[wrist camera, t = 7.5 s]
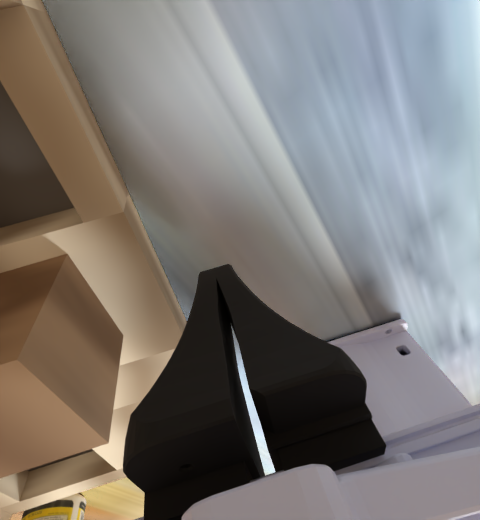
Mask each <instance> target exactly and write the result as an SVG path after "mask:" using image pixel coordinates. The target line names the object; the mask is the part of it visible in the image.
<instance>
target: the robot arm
mask: <svg viewBox="0 0 480 520" xmlns="http://www.w3.org/2000/svg"><path fill="white" fill-rule="evenodd" d="M231 325H232V327H233V330H234V332H235V335H236V338H237V340H238V343H239V347H240V351H241V355H242V360H243V364H244V368H245V372H246V377H247V381H248V385H249V389H250V392H251V395H252V398H253V401H254V404H255V407H256V411H257V414H258V417H259V420H260V423H261V426H262V429H263V433H264V437H265V440H266V444H267V448H268V451H269V453H270V456H271V459H272V462H273V465H274V468H275V471H276V472H275V473H272V474H269V475H266V476H265V474H264V470H263V466H262V463H261V459H260V455H259V451H258V447H257V443H256V440H255V436H254V432H253V428H252V424H251V420H250V416H249V413H248V409H247V405H246V401H245V397H244V393H243V389H242V385H241V381H240V377H239V372H238V367H237V360H236V354H235V347H234V340H233V334H232V328H231ZM407 326H408V324H407V323H406V321H405V320H403V319H399V320H396V321H393V322H390V323H386V324H383V325H380V326H377V327H374V328H370V329H367V330H364V331H361V332H358V333H355V334H351V335H348V336H345V337H342V338H339V339H335V340H332V341H329V342H325V341H323V340H321V339H319V338H317V337H315V336H313V335H311V334H309V333H307V332H305V331H304V330H302V329H300V328H299V327H297V326H295V325H293V324H292V323H290V322H288V321H287V320H286V319H284V318H283V317H281V316H280V315H278V314H277V313H276V312H274V311H273V310H272V309H270V308H269V307H268V306H267V305H266V304H264V303H263V302H262V301H261V300H260V299H259V298H258V297H257V296H256V295H255V294H254V293H253V292H252V291H251V290H250V289H249V288H248V287H247V286H246V285H245V284H244V283H243V282H242V280H241V279H240V278H239V277H238V275H237V274H236V273H235V271H234V270H233V268H232V266H231V265H229V264H227V265H223V266H220V267H216V268H213V269H210V270H206V271H203V272H200V274H199V278H198V285H197V290H196V295H195V298H194V302H193V306H192V309H191V312H190V315H189V318H188V321H187V323H186V326H185V329H184V331H183V333H182V336H181V338H180V340H179V342H178V344H177V346H176V348H175V350H174V352H173V354H172V356H171V358H170V359H169V361H168V363H167V365H166V366H165V368H164V369H163V371H162V373H161V374H160V376H159V377H158V379H157V380H156V382H155V383H154V385H153V386H152V388H151V389H150V391H149V392H148V393H147V394H146V396H145V397H144V398H143V400H142V401H141V402H140V404H139V405H138V406H137V407H136V409H135V410H134V411H133V412H132V414H131V415H130V419H129V424H128V428H127V433H126V438H125V446H124V457H123V472H124V474H125V475H126V477H127V478H128V479H130V480H131V481H132V482H133V483H134V484H135V485H137V486H138V487H139V488H140V489H141V490H142V491H144V492H145V500H144V517H141V518H138V519H135V520H480V404H478V405H475V406H472V405H471V404H470V403H469V401H468V400H467V399H466V398H465V397H464V395H463V394H462V393H461V392H460V391H459V390H458V389H457V388H456V386H455V385H454V384H453V383H452V382H451V381H450V380H449V378H448V377H447V376H446V375H445V374H444V373H443V372H442V371H441V369H440V368H439V367H438V366H437V365H436V364H435V363H434V361H433V360H432V359H431V358H430V357H429V356H428V355H427V353H426V352H425V351H424V350H423V349H422V348H421V347H420V346H419V344H418V343H417V342H416V341H415V340H414V339H413V338H412V336H411V335H410V334H409V333H408V332H407Z"/></svg>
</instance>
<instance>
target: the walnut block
mask: <svg viewBox="0 0 480 520" xmlns="http://www.w3.org/2000/svg"><path fill="white" fill-rule="evenodd" d="M122 343H123V334H122V332H121V331H120V330H119V328H118V327H117V325H116V324H115V322H114V321H113V319H112V318H111V316H110V315H109V314H108V312H107V311H106V309H105V308H104V306H103V305H102V303H101V302H100V300H99V299H98V297H97V296H96V295H95V293H94V292H93V290H92V289H91V287H90V286H89V284H88V283H87V281H86V280H85V278H84V277H83V276H82V274H81V273H80V271H79V270H78V268H77V267H76V265H75V264H74V262H73V261H72V259H71V258H70V257H69V255H68V254H64V255H61V256H57V257H54V258H50V259H47V260H44V261H40V262H37V263H33V264H30V265H26V266H23V267H20V268H16V269H13V270H9V271H6V272H2V273H0V478H3V477H6V476H9V475H12V474H16V473H19V472H22V471H25V470H28V469H31V468H34V467H37V466H40V465H43V464H46V463H49V462H52V461H55V460H58V459H62V458H65V457H68V456H71V455H74V454H77V453H80V452H83V451H86V450H89V449H92V448H95V447H98V446H101V445H105V444H108V443H109V437H110V430H111V423H112V415H113V408H114V401H115V394H116V386H117V379H118V372H119V364H120V357H121V350H122Z"/></svg>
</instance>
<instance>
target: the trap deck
mask: <svg viewBox="0 0 480 520" xmlns="http://www.w3.org/2000/svg"><path fill="white" fill-rule="evenodd" d="M64 254H68V255H69V257H70V258H71V259H72V261H73V262H74V264H75V265H76V267H77V268H78V270H79V271H80V273H81V274H82V276H83V277H84V278H85V280H86V281H87V283H88V284H89V286H90V287H91V289H92V290H93V292H94V293H95V295H96V296H97V297H98V299H99V300H100V302H101V303H102V305H103V306H104V308H105V309H106V311H107V312H108V314H109V315H110V316H111V318H112V319H113V321H114V322H115V324H116V325H117V327H118V328H119V330H120V331H121V332H122V334H123V343H122V350H121V357H120V364H119V372H118V379H117V386H116V394H115V401H114V408H113V415H112V423H111V430H110V437H109V443H108V444H105V445H101V446H98V447H95V448H92V449H89V450H86V451H83V452H80V453H77V454H74V455H71V456H68V457H65V458H62V459H58V460H55V461H52V462H49V463H46V464H43V465H40V466H37V467H34V468H31V469H28V470H25V471H22V472H19V473H16V474H12V475H9V476H6V477H3V478H0V520H10V519H11V516H12V515H13V514H16V513H19V512H22V511H25V510H28V509H31V508H34V507H37V506H40V505H43V504H46V503H49V502H52V501H56V500H59V499H62V498H65V497H68V496H71V495H74V494H77V493H80V492H83V491H86V490H89V489H92V488H95V487H98V486H101V485H104V484H107V483H110V482H113V481H117V480H120V479H123V478H126V475H125V474H124V472H123V457H124V446H125V438H126V433H127V428H128V424H129V419H130V415H131V414H132V412H133V411H134V410H135V409H136V407H137V406H138V405H139V404H140V402H141V401H142V400H143V398H144V397H145V396H146V394H147V393H148V392H149V391H150V389H151V388H152V386H153V385H154V383H155V382H156V380H157V379H158V377H159V376H160V374H161V373H162V371H163V369H164V368H165V366H166V365H167V363H168V361H169V359H170V358H171V356H172V354H173V352H174V350H175V348H176V346H177V344H178V342H179V340H180V338H181V336H182V333H183V331H184V329H185V326H186V323H187V321H186V318H185V316H184V314H183V312H182V310H181V307H180V305H179V303H178V301H177V298H176V296H175V294H174V292H173V290H172V287H171V285H170V283H169V281H168V279H167V276H166V274H165V272H164V270H163V267H162V265H161V263H160V261H159V259H158V256H157V254H156V252H155V250H154V248H153V245H152V243H151V241H150V239H149V237H148V234H147V232H146V230H145V228H144V225H143V223H142V221H141V219H140V217H139V214H138V212H137V210H136V208H135V206H134V203H133V201H132V199H131V197H130V194H129V192H128V190H127V188H126V186H125V183H124V181H123V179H122V177H121V175H120V172H119V170H118V168H117V166H116V164H115V161H114V159H113V157H112V155H111V152H110V150H109V148H108V146H107V144H106V141H105V139H104V137H103V135H102V133H101V130H100V128H99V126H98V124H97V121H96V119H95V117H94V115H93V113H92V110H91V108H90V106H89V104H88V102H87V99H86V97H85V95H84V93H83V91H82V88H81V86H80V84H79V82H78V79H77V77H76V75H75V73H74V71H73V68H72V66H71V64H70V62H69V60H68V57H67V55H66V53H65V51H64V48H63V46H62V44H61V42H60V40H59V37H58V35H57V33H56V31H55V29H54V26H53V24H52V22H51V20H50V18H49V15H48V13H47V11H46V9H45V6H44V4H43V2H42V0H0V273H2V272H6V271H9V270H13V269H16V268H20V267H23V266H26V265H30V264H33V263H37V262H40V261H44V260H47V259H50V258H54V257H57V256H61V255H64Z"/></svg>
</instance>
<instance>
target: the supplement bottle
mask: <svg viewBox="0 0 480 520" xmlns="http://www.w3.org/2000/svg"><path fill="white" fill-rule="evenodd" d="M85 507H86V499H85V497H84V496H82V495H80V494H74V495H71V496H68V497H65V498H62V499H59V500H56V501H52V502H49V503H46V504H43V505H40V506H37V507H34V508H31V509H28V510H25V511H24V513H23V516H22V520H83V519H84V513H85Z"/></svg>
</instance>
